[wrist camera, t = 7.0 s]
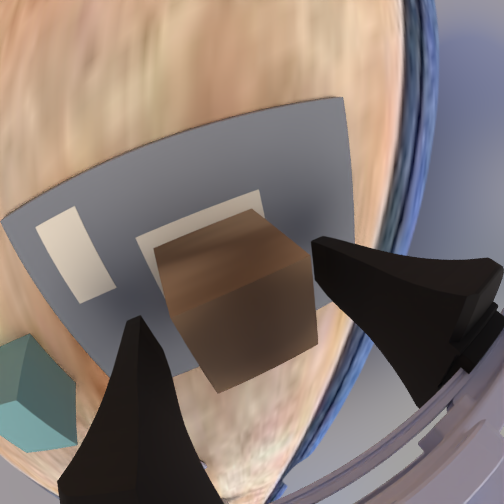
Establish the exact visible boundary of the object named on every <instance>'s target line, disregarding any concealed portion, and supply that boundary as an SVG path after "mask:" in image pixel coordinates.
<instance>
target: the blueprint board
mask: <svg viewBox="0 0 504 504" xmlns="http://www.w3.org/2000/svg"><path fill="white" fill-rule="evenodd" d="M249 209H253V210H254V211H256V212H257V213H258V214H259V215H261V216H262V217H263V218H265V219H266V220H267V221H268V222H270V223H271V224H272V225H273V226H275V227H276V228H277V229H278V230H280V231H281V232H282V233H283V234H285V235H286V236H287V237H288V238H290V239H291V240H292V241H293V242H295V243H296V244H297V245H298V246H300V247H301V248H302V249H303V250H305V251H306V252H307V253H308V254H309V255H310V256H311V265H312V275H313V285H314V296H315V307H316V310H318V309H319V308H321V307H323V306H325V305H327V304H329V303H330V302H332V300H331V299H330V298H329V297H328V296H327V295H326V294H325V292H324V291H323V290H322V289H321V287H320V286H319V285H318V284H317V282H316V281H315V279H314V268H313V258H312V249H311V241H312V240H314V239H317V238H319V237H321V236H327V237H331V238H335V239H339V240H343V241H347V242H350V243H354V244H355V234H354V203H353V184H352V170H351V158H350V148H349V138H348V129H347V121H346V114H345V107H344V100H343V97H331V98H323V99H316V100H310V101H304V102H298V103H292V104H287V105H282V106H277V107H272V108H267V109H263V110H258V111H254V112H250V113H245V114H241V115H237V116H234V117H230V118H226V119H222V120H219V121H215V122H212V123H208V124H205V125H202V126H198V127H195V128H192V129H189V130H186V131H183V132H180V133H177V134H174V135H171V136H168V137H165V138H162V139H159V140H157V141H154V142H151V143H149V144H146V145H143V146H141V147H138V148H136V149H133V150H131V151H128V152H126V153H124V154H121V155H119V156H117V157H114V158H112V159H110V160H107V161H105V162H103V163H101V164H99V165H96V166H94V167H92V168H90V169H88V170H86V171H84V172H82V173H80V174H78V175H76V176H74V177H72V178H70V179H68V180H66V181H64V182H62V183H60V184H58V185H57V186H55V187H53V188H51V189H49V190H48V191H46V192H44V193H42V194H40V195H39V196H37V197H35V198H34V199H32V200H30V201H29V202H27V203H25V204H24V205H22V206H20V207H19V208H17V209H16V210H14V211H13V212H11V213H10V214H8V215H7V216H5V217H4V218H3V219H2V220H1V221H0V222H1V224H2V226H3V228H4V230H5V232H6V234H7V236H8V238H9V240H10V242H11V244H12V246H13V247H14V249H15V251H16V253H17V255H18V256H19V258H20V260H21V262H22V263H23V265H24V267H25V268H26V270H27V272H28V273H29V275H30V277H31V278H32V280H33V281H34V283H35V284H36V286H37V288H38V289H39V291H40V292H41V294H42V295H43V297H44V298H45V299H46V301H47V302H48V304H49V305H50V307H51V308H52V309H53V311H54V312H55V313H56V315H57V316H58V318H59V319H60V320H61V322H62V323H63V324H64V325H65V327H66V328H67V329H68V331H69V332H70V333H71V334H72V336H73V337H74V338H75V339H76V340H77V342H78V343H79V344H80V345H81V346H82V348H83V349H84V350H85V351H86V352H87V353H88V354H89V356H90V357H91V358H92V359H93V360H94V361H95V362H96V363H97V364H98V366H99V367H100V368H101V369H102V370H103V371H104V372H105V373H106V374H107V375H108V376H109V377H110V376H111V373H112V370H113V367H114V363H115V360H116V356H117V353H118V349H119V346H120V342H121V338H122V335H123V331H124V328H125V324H126V322H127V320H130V319H132V318H134V317H137V316H139V315H141V316H142V318H143V319H144V321H145V322H146V324H147V326H148V327H149V329H150V330H151V332H152V333H153V335H154V336H155V338H156V339H157V341H158V342H159V344H160V345H161V347H162V348H163V350H164V353H165V356H166V359H167V362H168V365H169V367H170V370H171V374H172V377H174V376H177V375H179V374H182V373H184V372H187V371H189V370H192V369H194V368H196V367H199V364H198V363H197V361H196V360H195V358H194V357H193V355H192V353H191V352H190V350H189V349H188V347H187V345H186V344H185V342H184V340H183V339H182V337H181V335H180V334H179V332H178V330H177V328H176V327H175V325H174V323H173V322H172V320H171V318H170V315H169V311H168V307H167V304H166V300H165V296H164V292H163V288H162V284H161V280H160V276H159V272H158V268H157V263H156V259H155V254H154V250H153V248H155V247H158V246H160V245H162V244H165V243H167V242H169V241H172V240H174V239H177V238H179V237H181V236H184V235H186V234H189V233H191V232H194V231H196V230H198V229H201V228H203V227H206V226H208V225H211V224H213V223H216V222H218V221H221V220H223V219H226V218H229V217H231V216H234V215H236V214H239V213H241V212H244V211H247V210H249Z"/></svg>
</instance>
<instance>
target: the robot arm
mask: <svg viewBox="0 0 504 504" xmlns="http://www.w3.org/2000/svg"><path fill="white" fill-rule="evenodd" d="M311 249H312V258H313V268H314V279H315V281H316V282H317V284H318V285H319V286H320V287H321V289H322V290H323V291H324V292H325V294H326V295H327V296H328V297H329V298H330V299H331V300H332V301H333V302H334V303H335V304H336V305H337V306H338V307H339V308H340V309H341V310H342V311H343V312H344V313H345V314H347V315H348V316H349V317H350V318H351V319H352V320H353V321H354V322H355V323H356V324H357V325H358V326H359V327H360V328H361V329H362V330H363V331H364V332H365V333H366V334H367V335H368V336H369V337H370V339H371V340H372V341H373V342H374V343H375V345H376V346H377V347H378V348H379V350H380V351H381V352H382V354H383V355H384V356H385V358H386V359H387V360H388V362H389V363H390V364H391V366H392V367H393V368H394V370H395V371H396V373H397V374H398V376H399V377H400V379H401V380H402V382H403V383H404V385H405V387H406V388H407V390H408V392H409V393H410V395H411V397H412V399H413V401H414V402H415V404H416V406H417V407H418V408H419V410H418V411H417V412H415V414H413V415H412V416H411V417H410V418H408V419H407V420H406V421H405V422H404V423H402V424H401V425H400V426H399V427H398V428H396V429H395V430H394V431H392V432H391V433H390V434H389V435H387V436H386V437H385V438H383V439H382V440H381V441H379V442H378V443H377V444H375V445H374V446H372V447H371V448H369V449H368V450H367V451H365V452H364V453H362V454H361V455H359V456H358V457H356V458H355V459H353V460H352V461H350V462H349V463H347V464H345V465H344V466H342V467H340V468H339V469H337V470H335V471H333V472H332V473H330V474H328V475H327V476H325V477H323V478H321V479H319V480H317V481H316V482H314V483H312V484H310V485H308V486H306V487H304V488H302V489H300V490H298V491H296V492H294V493H292V494H289V495H287V496H285V497H283V498H280V499H278V500H276V501H273V502H271V503H269V504H315V503H318V502H319V501H321V500H323V499H325V498H327V497H329V496H331V495H332V494H334V493H336V492H338V491H339V490H341V489H343V488H345V487H346V486H348V485H349V484H351V483H353V482H354V481H356V480H357V479H359V478H361V477H362V476H363V475H365V474H367V473H368V472H370V471H371V470H372V469H374V468H375V467H377V466H378V465H380V464H381V463H382V462H384V461H385V460H386V459H388V458H389V457H390V456H392V455H393V454H394V453H396V452H397V451H398V450H399V449H401V448H402V447H403V446H404V445H406V443H408V442H409V441H410V440H411V439H413V438H414V437H415V436H416V435H417V434H418V433H420V432H421V431H422V430H423V429H424V428H425V427H426V426H427V425H428V424H429V423H431V421H433V420H434V419H435V418H436V417H437V416H438V415H439V414H440V413H441V412H442V411H443V410H444V409H445V407H447V414H446V415H445V416H444V417H443V418H442V419H441V420H440V421H439V422H438V423H437V424H436V425H435V426H434V427H433V428H432V430H431V431H430V432H429V433H428V434H427V435H426V436H425V437H424V438H422V439H421V440H420V441H419V443H418V445H419V446H420V447H421V448H422V449H423V451H424V452H423V453H422V454H421V455H420V456H419V457H418V458H417V459H415V460H414V461H413V462H412V463H411V464H409V465H408V466H407V467H405V469H403V470H402V471H400V472H399V473H398V474H396V475H395V476H394V477H392V478H391V479H390V480H388V481H387V482H386V483H384V484H383V485H381V486H380V487H379V488H377V489H375V490H374V491H373V492H371V493H370V494H368V495H366V496H365V497H363V498H362V499H360V500H359V501H357V502H355V503H354V504H504V437H503V436H502V435H501V434H500V431H501V430H502V428H503V426H504V308H503V310H502V312H501V314H500V313H499V312H498V311H497V308H498V305H497V304H496V303H495V302H493V300H494V298H495V296H496V293H497V291H498V288H499V286H500V283H501V280H502V277H503V273H504V269H503V266H501V265H500V264H498V263H496V262H495V261H493V260H492V259H490V258H479V259H470V260H469V259H468V260H439V259H425V258H417V257H410V256H404V255H398V254H393V253H389V252H384V251H380V250H376V249H372V248H368V247H365V246H361V245H357V244H354V243H350V242H347V241H343V240H339V239H335V238H331V237H327V236H321V237H319V238H317V239H314V240H312V241H311ZM206 468H207V465H206V464H205V463H203V462H201V461H200V459H199V457H198V455H197V453H196V451H195V449H194V447H193V444H192V442H191V440H190V437H189V435H188V433H187V430H186V427H185V424H184V421H183V418H182V415H181V411H180V407H179V403H178V399H177V395H176V391H175V387H174V383H173V379H172V374H171V370H170V367H169V365H168V362H167V359H166V356H165V353H164V350H163V348H162V347H161V345H160V344H159V342H158V341H157V339H156V338H155V336H154V335H153V333H152V332H151V330H150V329H149V327H148V326H147V324H146V322H145V321H144V319H143V318H142V316H141V315H139V316H137V317H134V318H132V319H130V320H127V322H126V324H125V328H124V331H123V335H122V338H121V342H120V346H119V349H118V353H117V356H116V360H115V363H114V367H113V370H112V373H111V376H110V379H109V383H108V386H107V389H106V392H105V394H104V397H103V400H102V402H101V405H100V407H99V409H98V412H97V414H96V416H95V418H94V420H93V422H92V424H91V427H90V429H89V431H88V433H87V435H86V437H85V439H84V440H83V442H82V444H81V446H80V448H79V449H78V451H77V453H76V454H75V456H74V458H73V459H72V461H71V462H70V464H69V465H68V467H67V468H66V470H65V471H64V472H63V474H62V475H61V477H60V478H59V480H58V481H57V483H58V492H59V498H60V504H224V502H223V501H222V499H221V498H220V496H219V494H218V493H217V491H216V489H215V488H214V486H213V484H212V482H211V481H210V479H209V477H208V475H207V473H206V471H205V469H206Z"/></svg>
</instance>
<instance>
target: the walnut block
mask: <svg viewBox="0 0 504 504" xmlns="http://www.w3.org/2000/svg"><path fill="white" fill-rule="evenodd" d="M153 250H154V254H155V259H156V263H157V268H158V272H159V276H160V280H161V284H162V288H163V292H164V296H165V300H166V304H167V307H168V311H169V315H170V318H171V320H172V322H173V323H174V325H175V327H176V328H177V330H178V332H179V334H180V335H181V337H182V339H183V340H184V342H185V344H186V345H187V347H188V349H189V350H190V352H191V353H192V355H193V357H194V358H195V360H196V361H197V363H198V364H199V366H200V368H201V369H202V371H203V372H204V374H205V375H206V377H207V378H208V380H209V381H210V383H211V384H212V386H213V387H214V389H215V390H216V392H217V393H221V392H223V391H225V390H228V389H230V388H232V387H234V386H237V385H239V384H241V383H243V382H245V381H248V380H250V379H252V378H254V377H256V376H258V375H260V374H262V373H264V372H266V371H268V370H270V369H272V368H274V367H276V366H278V365H280V364H282V363H284V362H286V361H288V360H290V359H292V358H294V357H296V356H297V355H299V354H301V353H303V352H305V351H307V350H308V349H310V348H312V347H314V346H316V345H317V344H318V333H317V320H316V307H315V296H314V285H313V275H312V265H311V256H310V255H309V254H308V253H307V252H306V251H305V250H303V249H302V248H301V247H300V246H298V245H297V244H296V243H295V242H293V241H292V240H291V239H290V238H288V237H287V236H286V235H285V234H283V233H282V232H281V231H280V230H278V229H277V228H276V227H275V226H273V225H272V224H271V223H270V222H268V221H267V220H266V219H265V218H263V217H262V216H261V215H259V214H258V213H257V212H256V211H254V210H253V209H249V210H247V211H244V212H241V213H239V214H236V215H234V216H231V217H229V218H226V219H223V220H221V221H218V222H216V223H213V224H211V225H208V226H206V227H203V228H201V229H198V230H196V231H194V232H191V233H189V234H186V235H184V236H181V237H179V238H177V239H174V240H172V241H169V242H167V243H165V244H162V245H160V246H158V247H155V248H153Z"/></svg>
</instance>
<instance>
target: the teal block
mask: <svg viewBox="0 0 504 504" xmlns="http://www.w3.org/2000/svg"><path fill="white" fill-rule="evenodd" d="M0 435H1V436H2V437H4V438H5V439H6V440H8V441H9V442H11V443H12V444H14V445H15V446H17V447H18V448H20V449H22V450H23V451H25V452H26V453H29V452H37V451H45V450H52V449H58V448H64V447H70V446H75V445H78V444H77V430H76V383H75V382H74V381H73V380H72V379H71V378H70V377H69V376H68V375H67V374H66V373H65V372H64V371H63V370H62V369H61V368H60V367H59V366H58V365H57V364H56V363H55V361H54V360H53V359H52V358H51V357H50V356H49V355H48V354H47V353H46V352H45V350H44V349H43V348H42V347H41V346H40V345H39V344H38V342H37V341H36V340H35V339H34V338H33V336H32V335H31V334H28V335H25V336H23V337H21V338H19V339H16V340H14V341H12V342H10V343H7V344H5V345H3V346H1V347H0Z"/></svg>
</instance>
